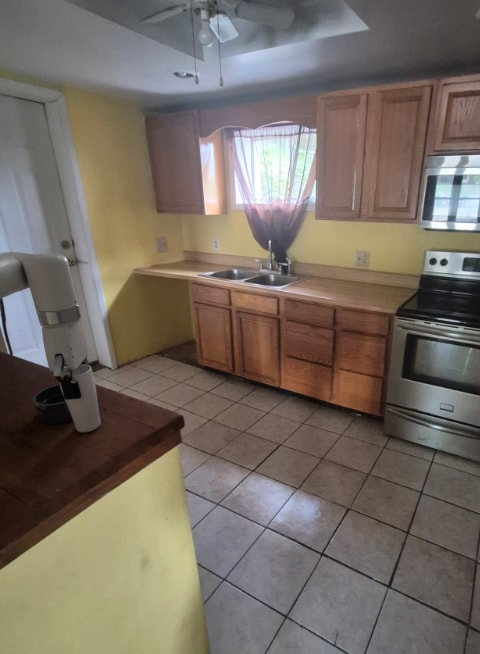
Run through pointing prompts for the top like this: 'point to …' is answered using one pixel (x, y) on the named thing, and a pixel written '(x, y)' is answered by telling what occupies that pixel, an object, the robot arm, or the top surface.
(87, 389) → the drinking glass
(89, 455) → the top surface
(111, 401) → the top surface
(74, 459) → the top surface
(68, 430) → the top surface
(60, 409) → the bowl
